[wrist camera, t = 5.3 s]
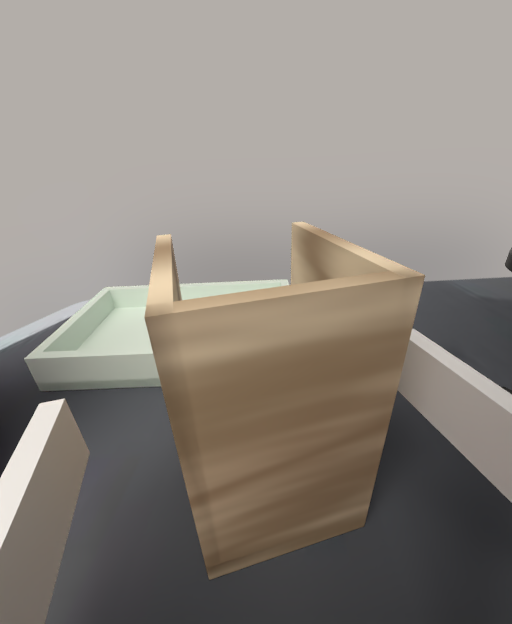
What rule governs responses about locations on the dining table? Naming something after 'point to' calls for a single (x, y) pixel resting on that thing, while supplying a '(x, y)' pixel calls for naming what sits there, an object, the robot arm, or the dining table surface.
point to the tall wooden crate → (282, 394)
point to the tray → (113, 339)
